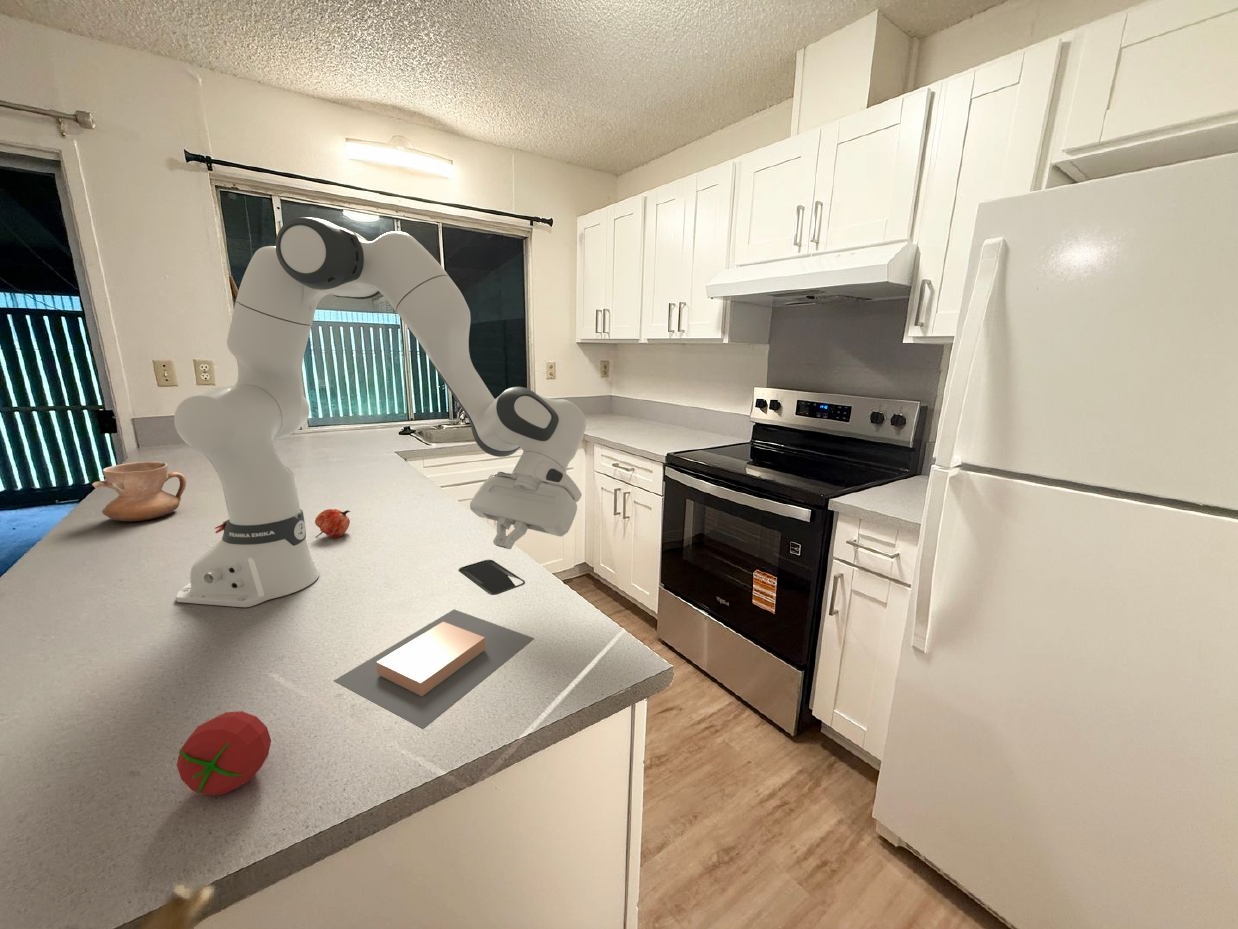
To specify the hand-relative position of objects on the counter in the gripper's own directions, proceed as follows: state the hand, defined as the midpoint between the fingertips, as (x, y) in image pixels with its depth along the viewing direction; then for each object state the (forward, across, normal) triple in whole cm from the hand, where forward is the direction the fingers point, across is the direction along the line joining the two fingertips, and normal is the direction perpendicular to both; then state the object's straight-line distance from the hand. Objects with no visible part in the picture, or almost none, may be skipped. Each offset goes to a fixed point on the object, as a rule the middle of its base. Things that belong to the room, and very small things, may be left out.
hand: (501, 546), depth 82 cm
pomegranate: (+5, -62, +15) cm, 64 cm away
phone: (+3, -12, +17) cm, 21 cm away
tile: (+15, 0, +2) cm, 15 cm away
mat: (+20, 0, 0) cm, 20 cm away
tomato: (+38, -3, -18) cm, 42 cm away
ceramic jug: (+17, -118, +4) cm, 119 cm away
